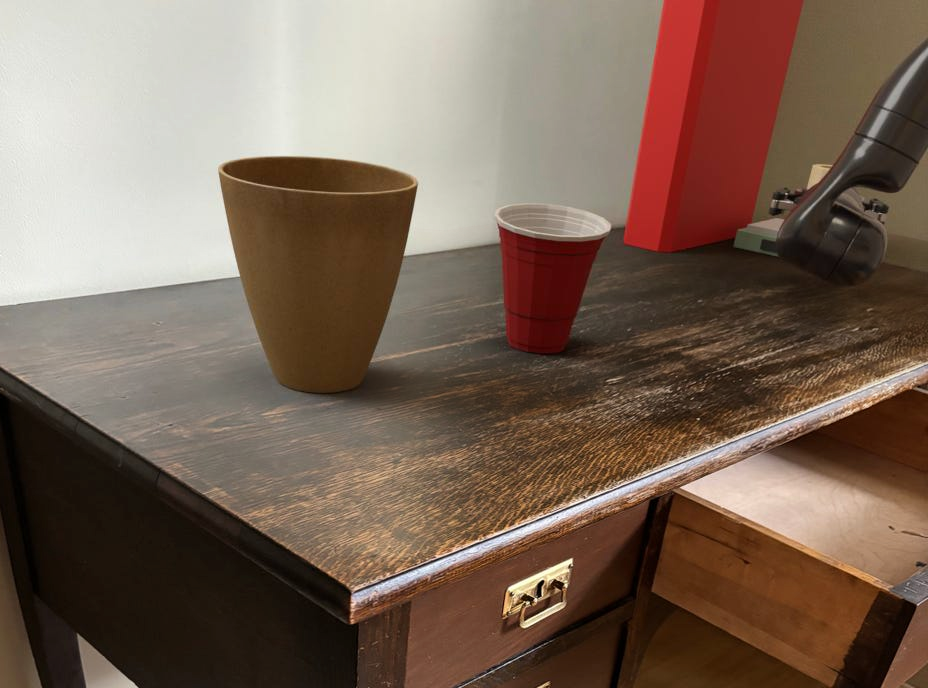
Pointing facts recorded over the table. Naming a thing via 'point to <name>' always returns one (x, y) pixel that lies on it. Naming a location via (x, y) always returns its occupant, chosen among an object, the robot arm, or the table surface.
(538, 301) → the plastic cup
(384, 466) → the table surface
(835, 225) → the robot arm
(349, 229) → the plant pot
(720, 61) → the book
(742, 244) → the scale
